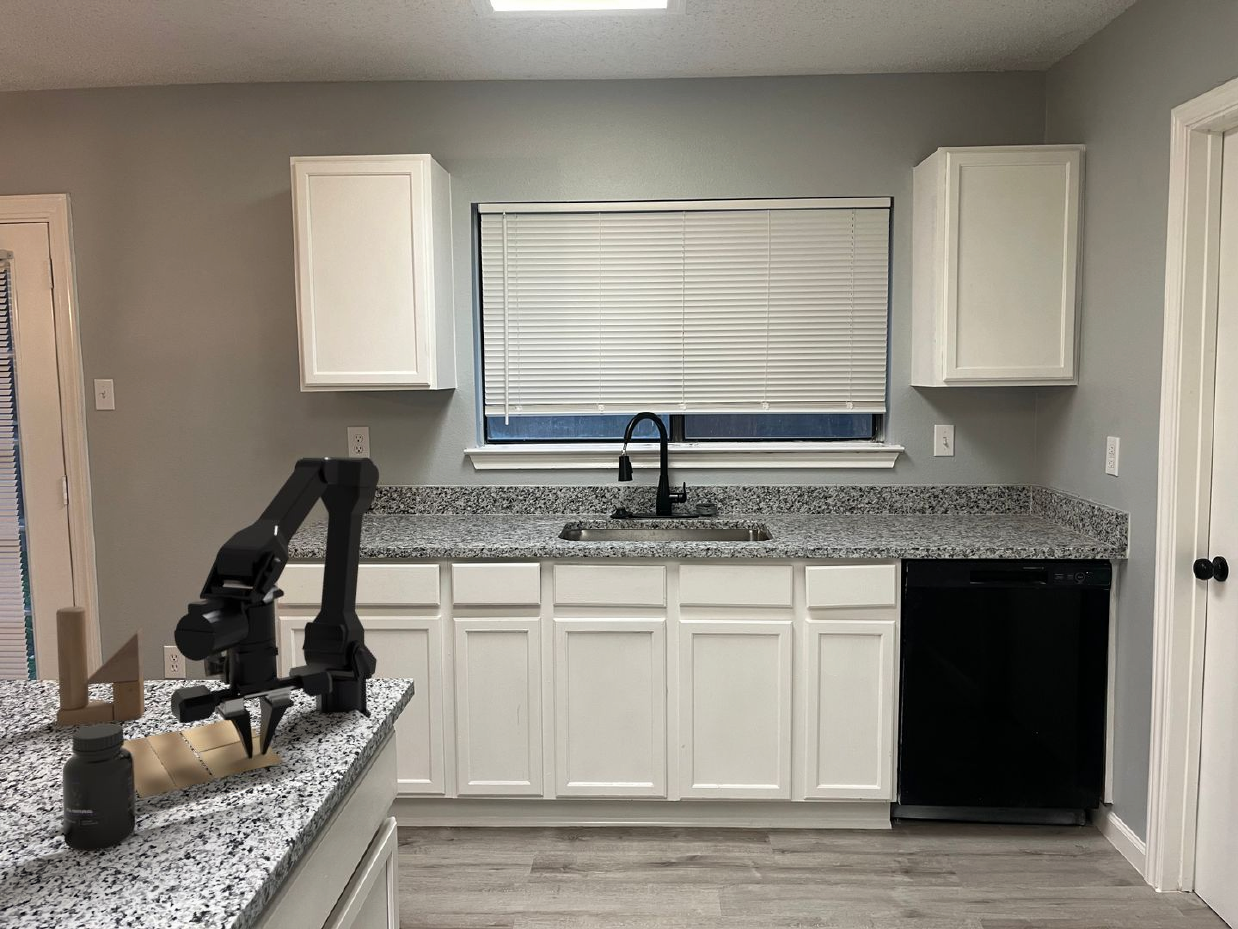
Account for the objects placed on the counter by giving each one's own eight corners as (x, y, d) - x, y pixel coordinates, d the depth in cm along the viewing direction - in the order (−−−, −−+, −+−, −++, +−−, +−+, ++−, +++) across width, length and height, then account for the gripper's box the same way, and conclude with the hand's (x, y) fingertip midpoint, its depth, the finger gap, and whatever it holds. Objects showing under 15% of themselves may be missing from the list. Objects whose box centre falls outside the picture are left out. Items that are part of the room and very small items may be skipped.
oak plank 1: (241, 726, 130) (240, 716, 130) (260, 746, 123) (259, 735, 122) (181, 741, 125) (180, 731, 125) (197, 763, 118) (196, 752, 118)
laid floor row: (177, 741, 125) (177, 730, 125) (214, 792, 109) (214, 780, 109) (113, 754, 121) (112, 743, 120) (141, 810, 104) (140, 797, 104)
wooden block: (141, 728, 130) (137, 607, 129) (56, 737, 127) (51, 612, 125) (145, 719, 134) (141, 601, 132) (63, 728, 130) (58, 607, 129)
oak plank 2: (261, 747, 122) (260, 736, 122) (282, 770, 115) (281, 759, 115) (198, 764, 117) (197, 753, 117) (216, 789, 110) (215, 778, 110)
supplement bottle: (61, 858, 93) (56, 747, 92) (67, 830, 99) (62, 725, 98) (136, 843, 96) (132, 736, 96) (137, 817, 103) (133, 715, 102)
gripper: (304, 615, 127) (307, 721, 128) (159, 637, 115) (164, 754, 117) (331, 631, 118) (335, 745, 119) (178, 657, 107) (183, 783, 108)
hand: (256, 755), depth 116 cm, fingers closed on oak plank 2
